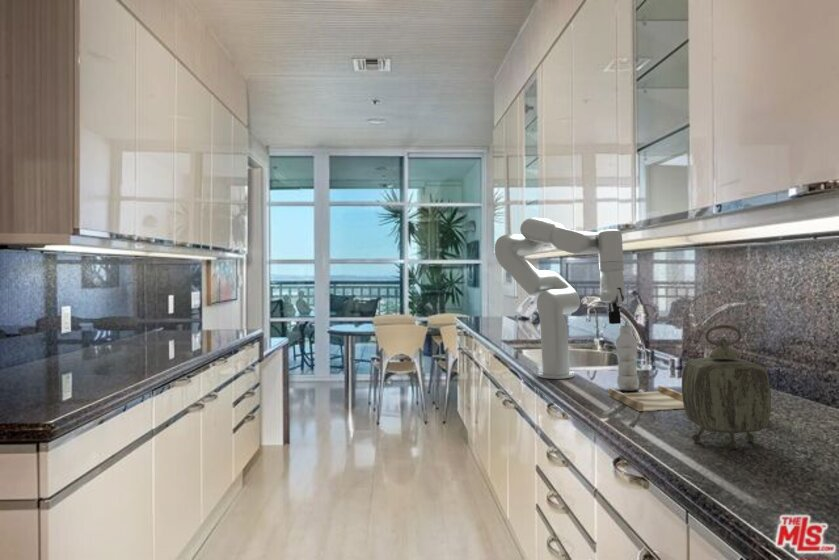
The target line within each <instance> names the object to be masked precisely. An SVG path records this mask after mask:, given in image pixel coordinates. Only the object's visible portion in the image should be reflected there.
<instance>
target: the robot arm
mask: <svg viewBox="0 0 839 560" xmlns="http://www.w3.org/2000/svg"><path fill="white" fill-rule="evenodd" d="M519 227H520V228H519V230H520V233H521V234H520V233H506V234H503V235H500V236H499V237H497V239H496V241H495V244H494V254H495V258H496V260H497V262H498V264H499V266H500V267H502V269H503V270H505V271H506V272H507V273H508V274H509V275H510V276H511V278H513V279H514V281H515V282H516V283H517V284H518V285H519V286H520V287H521V288H522V289H523V290H524V291H525V292H526V293H527V294H528V295H529V296H532V297H537V299H536V309H537V312H538V317H539V318H538V319H539V324H540V325H539V327H540V342H541V344H540V346H541V347H540V348H541V363H542V364H541V366H542V371H539V372H538V373H537V374H538V377H539V378H542V379H548V380H549V379H550V380H562V379H570V378H573V377H574V376H575V372H574V371H571V370H570V356H569V354H570V353H569V332H568V324H567V321H566V319H565V316H564V315H569V314H573V313H575V312H577V311H578V309H580V305H581V298H580V296H579V294H578V292H577V291H576V290H575V288H573V287H572V286H571V284H569V283H568V282H567V281H566V280H565V279H564V278H563V277H562V276H561V275H560V274H559V273H557V272H555V271H552V270H539V269H537V268H535V267H534V265H532V264H531V263H530V262H529V261H528V260H527V259H526V258H523V257H521V256H530V255H533V254H534V253H535V252H537V251H538V250H539V249H541V248H542V247H544V246H545V245H547V246H551V247H552V248H554V249H556V250H559V251H563V252H566V253H571V254H575V255H598V265H599V267H598V268H599V273H600V275H599V277H600V278H599V300H600V301H601V302H602V303H605V305H606V306H607V311H608V322H609V323H608V324H609V325H617V324H621V307H622V306H623V302H625V300H626V285H625V279H624V273H623V272H625V267H624V266H625V265H624V264H625V263H624V249H623V247H624V246H623V234H622V231H621V230H620V229H616V228H615V229H605V230H600V231H598V232H597V231H596V232H595V231H579V230H578V231H577V230H572V229H567V228H565V226H564V225H563V224H561V223H559V222H554V221H552V220H551V219H549V218H545V217H544V218H540V217H539V218H538V217H530V218H527V219H525V220H524V221H522V223H521V224H520V226H519Z"/></svg>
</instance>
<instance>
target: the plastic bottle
mask: <svg viewBox="0 0 839 560" xmlns="http://www.w3.org/2000/svg"><path fill="white" fill-rule="evenodd" d="M618 328H619V329H618V330H619V331H618V332H619V335H618V336H617V338H616V340H615V349H616V355H617V378H616V385H617V388H619V390H622V391H627V392H632V391H637V390H638V388H639V385H640V379H639V376H638V368H637V349H638V342H637V340H636V338H635V337H634V335H633V334H632V333H633V329H632V325H620V326H619V327H618Z"/></svg>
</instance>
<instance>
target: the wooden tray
mask: <svg viewBox="0 0 839 560" xmlns="http://www.w3.org/2000/svg"><path fill="white" fill-rule="evenodd" d="M608 389H609V390H608V393H609V394H608V395H609V397H612V398H613V399H616V400H617V401H618V402H621V403H623V404H625V405H626V406H629V407H630V408H632V409H633V410H636V411H637V410H638V412H639V411H643V412H657V410H661V411H674V410H673V409H679V410H685V409H684V405H683V397H682V392H680V391H677V390H675V389H672V388H669V387H667V386H664V385H660V384H659V385H658V386H657V390H656V391H641V392H624V393H623V392H621V391H619V390H617V389H615V388H613V387H609V388H608Z"/></svg>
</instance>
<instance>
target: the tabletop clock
mask: <svg viewBox="0 0 839 560" xmlns="http://www.w3.org/2000/svg"><path fill="white" fill-rule="evenodd" d="M720 329H728V330H729V329H730V330H733V331H734V332H736V333H737V334H738V337H737V338H736V339H734V340H732V341H727V339H726V338H720V342H719V341H712V340H711V339H709V334H710V333H711V332H712V331H715V330H720ZM741 338H742V333H741V332H740V330H739V329H738V328H736V327H734V326H732V325H728V324H727V325H726V324H720V325H714V326H712V327H711V328H709V329H707V331H706V333H705V339H706V341H707V342H708V343H709V344H711V345H714V346H717V347H715V348H714V349H713V350H712V351H711V353H710V354H709V355H710V356H708V357H707V356H706V357H700V358H692V359H691V360H688V361H686V362H685V364H684V367H683V370H682V375H681V378H682V379H681V393H682V397H683V405H684V409H683V410H684V412H685V415H686V417H687V418H688V419H687V420H689V421H691V422H692V423H694V424H695V425H696V426H698V427H699V428H700V429H699V430H698V432H697V433H695V434H692V436H691V438H692V440H693V442H696V443H698V442H700V441H701V439H702V438H701V435H702V434H703V433H704V432H705V431H707V432H708V431H709V432H713V433H723V434H725V433H726V434H729V438H730V440H731V441H729V442H728V445H729V448H730V449H732V450H737V449H738V448H739V444H738V442H736V441H735V434H741V433H743V434H744V433H745V436H744V438H745V440H746V441H748V442H752V441H754V439H755V436H754V435H753V434H752V433H754V432H759V431H762V430H764V429H766V428H768V425H769V422H770V419H771V412H772V410H771V409H772V407H771V406H772V394H771V386H770V379H769V375H768V373H767V371H766V368H765V366H763V365H761V364H758V363H756V362H752V361H749V360H746V359H743V358H739V355H738V353H737V350H735V349H734V348H732V347H728V346H732V345H735V344H737V343H738V342H739V341H740V340H741Z"/></svg>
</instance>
